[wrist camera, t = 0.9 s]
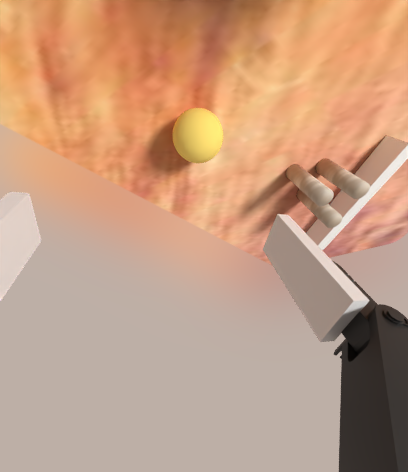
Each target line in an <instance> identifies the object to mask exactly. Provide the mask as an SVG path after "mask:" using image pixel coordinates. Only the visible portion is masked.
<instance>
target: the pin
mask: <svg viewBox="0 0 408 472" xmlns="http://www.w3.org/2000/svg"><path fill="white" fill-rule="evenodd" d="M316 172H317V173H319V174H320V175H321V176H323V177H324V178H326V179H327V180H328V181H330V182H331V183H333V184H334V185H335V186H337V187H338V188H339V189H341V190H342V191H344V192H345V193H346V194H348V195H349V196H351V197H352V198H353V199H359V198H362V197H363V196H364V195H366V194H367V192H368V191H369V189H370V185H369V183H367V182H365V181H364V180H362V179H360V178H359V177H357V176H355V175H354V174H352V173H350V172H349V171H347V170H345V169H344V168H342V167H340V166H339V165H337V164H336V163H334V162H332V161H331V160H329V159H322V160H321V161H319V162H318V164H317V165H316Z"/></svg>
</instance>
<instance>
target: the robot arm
mask: <svg viewBox="0 0 408 472" xmlns="http://www.w3.org/2000/svg"><path fill="white" fill-rule="evenodd" d="M40 242H41V237H40V233H39V229H38V225H37V222H36V218H35V214H34V210H33V207H32V202H31V199H30V195H29V193H20V192H19V193H18V192H9V193H8V194H6V195H5V196H4V197H3V198H1V199H0V301H1V300H2V298H3V297H4V295H5V294H6V292H7V291H8V289H9V288H10V286H11V285H12V283H13V282H14V281H15V279H16V278H17V276H18V275H19V273H20V272H21V270H22V269H23V267H24V266H25V264H26V263H27V261H28V260H29V258H30V257H31V255H32V254H33V252H34V251H35V250H36V248H37V247H38V245H39V244H40ZM263 250H264V252H265V254H266V255H267V257H268V259H269V260H270V262H271V263H272V265H273V267H274V268H275V270H276V271H277V273H278V275H279V276H280V278H281V280H282V281H283V283H284V284H285V286H286V288H287V289H288V291H289V293H290V294H291V296H292V297H293V299H294V301H295V302H296V304H297V305H298V307H299V309H300V310H301V312H302V314H303V315H304V317H305V318H306V320H307V322H308V323H309V325H310V326H311V328H312V330H313V331H314V333H315V335H316V336H317V338H318V339H319V341H320V342H326V341H334V340H335V339H336V338H337V337H338V336H339V335H340V334H341V333H342V334H343V335H344V337H345V338H346V339H345V340H344V341H343V342H342V344H341V345H340V346H339V347H338V348H337V349H336V350H335V352H334V355H337V354H338V353H339V352H340V351H342V355H341V356H340V358H341V359H342V372H341V408H340V410H341V411H340V448H339V472H408V319H407V318H406V317H405V316H404V315H403V314H401V313H400V312H399V311H397V310H395V309H394V308H392V307H389V306H386V305H378V304H377V303H376V302H375V301H373V299H372V298H371V297H370V296H369V295H368V294H367V293H366V292H365V291H364V290H363V289H362V288H361V287H360V286H359V285H358V284H357V283H356V282H354V280H353V279H352V278H351V277H350V276H349V275H348V274H347V273H346V271H345V270H343V268H342V267H341V266H339V265H338V264H337V263H335V262H334V261H332V260H331V259H330V258H329V257H328V256H327V255H326V254H325V253H324V252H323V251H322V250H321V249H320V248H319V247H318V246H317V245H316V244H315V242H314V241H313V240H312V239H311V238H310V237H309V236H308V235H307V234H306V233H305V232H304V231H303V230H302V229H301V228H300V227H299V226H298V225H297V224H296V222H295V221H294V220H293V219H292V218H291V217H290V216H289V215H284V214H277V216H276V218H275V221H274V223H273V226H272V228H271V231H270V233H269V235H268V238H267V240H266V243H265V245H264V248H263Z"/></svg>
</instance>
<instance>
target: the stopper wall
mask: <svg viewBox="0 0 408 472" xmlns="http://www.w3.org/2000/svg"><path fill="white" fill-rule="evenodd" d="M407 159H408V143H407V142H404V141H401V140H398V139H395V138H393V137H390V136H387V135H386V136H385V138H384V139H383V140H382V141H381V143H380V144H379V145H378V146H377V147H376V149H375V150H374V151H373V152H372V153H371V155H370V156H369V157H368V158H367V159H366V161H365V162H364V163H363V164H362V166H361V167H360V168H359V169H358V170H357V172H356V173H355V174H354V175H355V176H357V177H359V178H360V179H362V180H364V181H365V182H367V183H369V185H370V189H369V191H368V192H367V194H366V195H364V196H363V197H362V198H359V199H353V198H352V197H351V196H349V195H348V194H346V193H345V192H344V191H342V190H341V191H340V192H339V193H338V195H337V196H336V197H335V198H334V199H333V201H332V202H331V203H330V204H329V205H330V206H331V207H332V208H333V209H335V210H336V211H337V212H338V213H339V214H340V215H342V221H341V222H340V224H338V225H337V226H336V227H333V228H327V227H326V226H325V225H324V224H323V223H322V222H321V221H320V220H319V219H317V220H316V221H315V223H314V224H313V225H312V226H311V227H310V229H309V230H308V231H307V232H306V234H307V235H308V236H309V237H310V238H311V239H312V240H313V241H314V242H315V244H316V245H317V246H318V247H319V248H320V249H322V250H324V248H325V247H326V246H327V245H328V244H329V243H330V242H331V241H332V240H333V239H334V238H335V237H336V236H337V234H338V233H339V232H340V231H341V230H342V229H343V228H344V227H345V226H346V225H347V224H348V223H349V221H350V220H351V219H352V218H353V217H354V216H355V215H356V214H357V213H358V212H359V211H360V210H361V208H362V207H363V206H364V205H365V204H366V203H367V202H368V201H369V200H370V199H371V198H372V197H373V195H374V194H375V193H376V192H377V191H378V190H379V189H380V188H381V187H382V186H383V185H384V184H385V183H386V181H387V180H388V179H389V178H390V177H391V176H392V175H393V174H394V173H395V172H396V171H397V170H398V168H399V167H400V166H401V165H402V164H403V163H404V162H405V161H406V160H407Z"/></svg>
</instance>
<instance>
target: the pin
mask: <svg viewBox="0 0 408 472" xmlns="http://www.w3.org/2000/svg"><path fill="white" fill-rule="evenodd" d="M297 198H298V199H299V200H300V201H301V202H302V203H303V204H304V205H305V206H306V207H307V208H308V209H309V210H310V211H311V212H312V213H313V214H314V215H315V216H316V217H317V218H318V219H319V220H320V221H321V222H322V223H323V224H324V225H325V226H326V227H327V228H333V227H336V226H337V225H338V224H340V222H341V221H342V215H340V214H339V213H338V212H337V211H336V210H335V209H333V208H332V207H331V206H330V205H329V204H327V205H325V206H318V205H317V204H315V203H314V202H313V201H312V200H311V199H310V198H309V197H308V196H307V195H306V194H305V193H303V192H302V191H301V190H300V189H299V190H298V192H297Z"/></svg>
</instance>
